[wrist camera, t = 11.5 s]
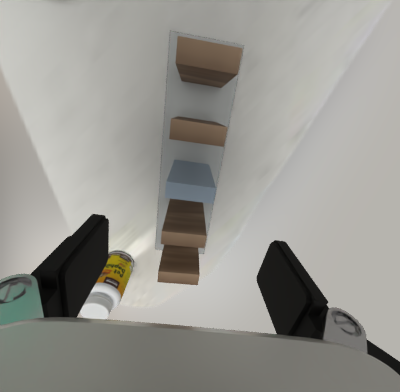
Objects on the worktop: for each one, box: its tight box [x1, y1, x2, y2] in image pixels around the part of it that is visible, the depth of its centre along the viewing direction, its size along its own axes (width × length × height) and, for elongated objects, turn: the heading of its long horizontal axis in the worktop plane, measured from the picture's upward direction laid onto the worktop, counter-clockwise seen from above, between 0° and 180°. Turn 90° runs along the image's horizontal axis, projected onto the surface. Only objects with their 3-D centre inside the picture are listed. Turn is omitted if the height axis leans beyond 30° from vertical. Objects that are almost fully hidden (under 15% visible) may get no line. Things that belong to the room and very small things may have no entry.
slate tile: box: [165, 160, 216, 204], centre depth 25 cm, size 2×5×10 cm, turn 81°
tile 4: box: [161, 198, 207, 248], centre depth 27 cm, size 2×5×10 cm, turn 82°
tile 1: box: [175, 36, 243, 88], centre depth 20 cm, size 2×5×10 cm, turn 82°
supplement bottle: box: [80, 252, 134, 319], centre depth 32 cm, size 6×6×10 cm
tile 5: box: [158, 245, 199, 285], centre depth 29 cm, size 2×5×10 cm, turn 82°
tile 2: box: [169, 116, 228, 147], centre depth 22 cm, size 2×5×10 cm, turn 82°
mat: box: [155, 31, 244, 254], centre depth 30 cm, size 32×9×1 cm, turn 172°
